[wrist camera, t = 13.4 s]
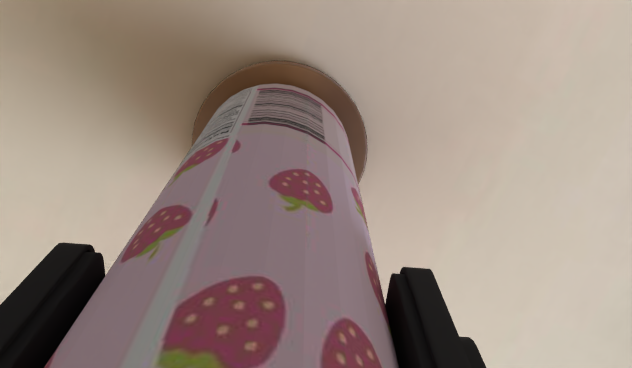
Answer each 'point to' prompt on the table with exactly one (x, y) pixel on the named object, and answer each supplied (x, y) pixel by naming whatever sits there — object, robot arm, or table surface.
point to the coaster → (299, 78)
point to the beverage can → (246, 254)
